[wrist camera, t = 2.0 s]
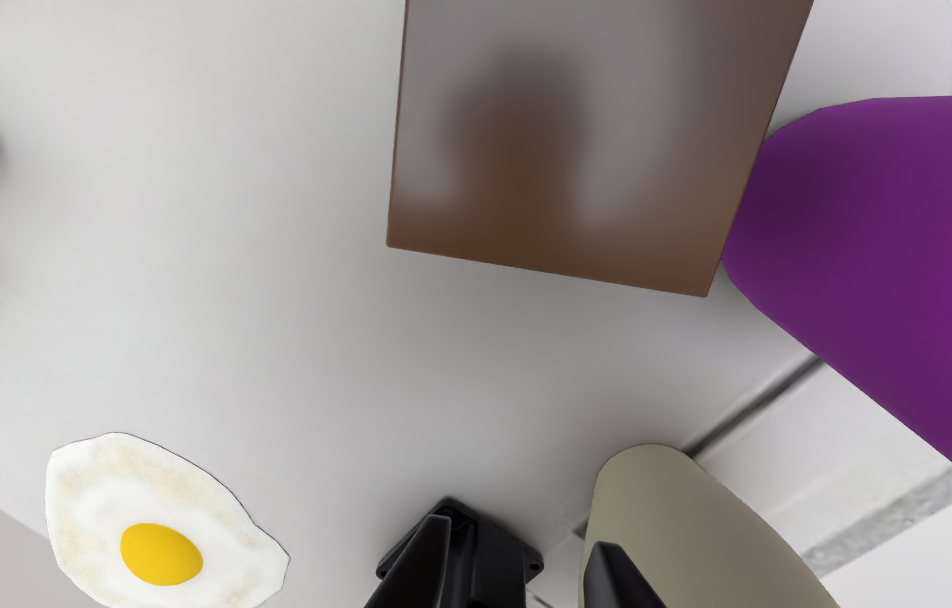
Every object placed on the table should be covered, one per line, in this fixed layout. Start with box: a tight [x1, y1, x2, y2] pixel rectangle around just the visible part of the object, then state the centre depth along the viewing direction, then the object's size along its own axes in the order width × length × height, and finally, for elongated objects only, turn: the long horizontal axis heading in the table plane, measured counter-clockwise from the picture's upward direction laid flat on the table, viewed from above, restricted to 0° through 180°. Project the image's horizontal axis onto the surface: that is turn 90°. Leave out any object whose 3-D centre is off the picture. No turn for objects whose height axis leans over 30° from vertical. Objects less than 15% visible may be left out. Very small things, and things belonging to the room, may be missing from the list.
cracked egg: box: [45, 433, 290, 608], centre depth 25 cm, size 14×13×1 cm
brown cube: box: [386, 0, 814, 297], centre depth 12 cm, size 8×7×8 cm
